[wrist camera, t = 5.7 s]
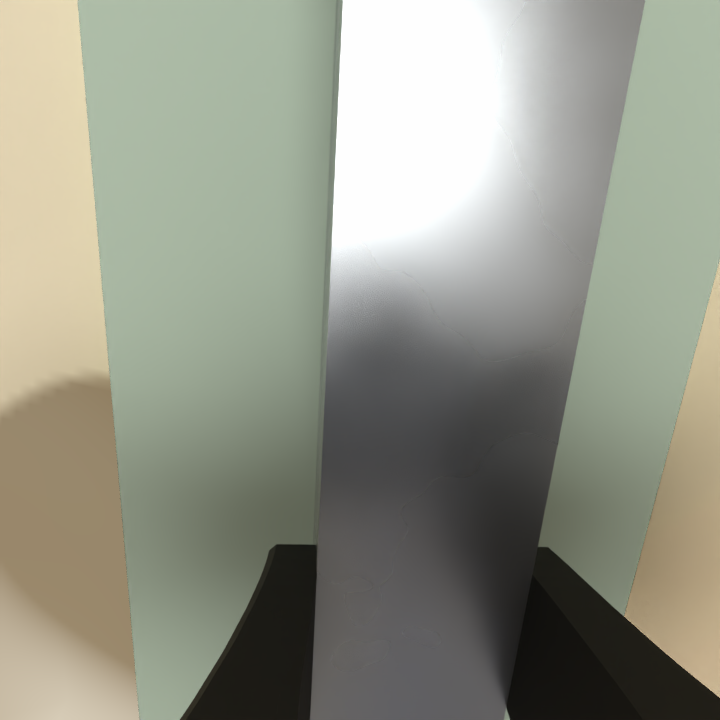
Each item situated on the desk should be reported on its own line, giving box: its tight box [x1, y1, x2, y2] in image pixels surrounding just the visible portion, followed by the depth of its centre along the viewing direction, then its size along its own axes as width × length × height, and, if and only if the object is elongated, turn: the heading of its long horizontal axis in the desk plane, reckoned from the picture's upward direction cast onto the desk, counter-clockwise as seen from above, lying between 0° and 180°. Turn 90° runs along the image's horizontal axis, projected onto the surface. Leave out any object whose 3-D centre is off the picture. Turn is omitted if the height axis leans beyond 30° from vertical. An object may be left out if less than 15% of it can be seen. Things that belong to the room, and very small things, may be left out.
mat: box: [78, 0, 720, 720], centre depth 12 cm, size 22×10×1 cm, turn 176°
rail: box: [310, 0, 645, 720], centre depth 10 cm, size 19×3×3 cm, turn 176°
